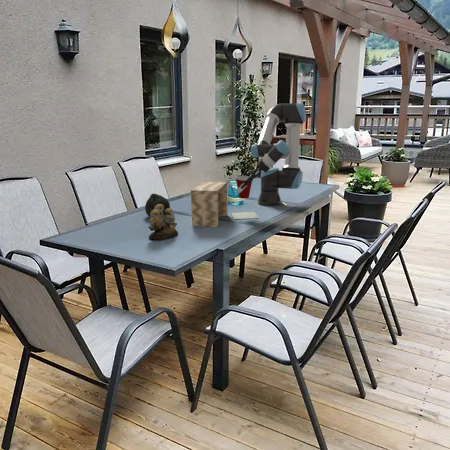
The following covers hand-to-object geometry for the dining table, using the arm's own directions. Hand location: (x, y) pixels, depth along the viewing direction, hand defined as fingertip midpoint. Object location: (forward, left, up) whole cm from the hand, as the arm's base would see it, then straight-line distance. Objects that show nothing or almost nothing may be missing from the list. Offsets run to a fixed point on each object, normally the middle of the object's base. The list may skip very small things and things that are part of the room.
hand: (239, 189), depth 261 cm
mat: (-3, +1, -16) cm, 16 cm away
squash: (+48, -9, -16) cm, 51 cm away
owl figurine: (+45, +33, -16) cm, 58 cm away
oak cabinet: (+18, +7, -16) cm, 25 cm away
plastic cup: (-3, +1, -5) cm, 5 cm away
